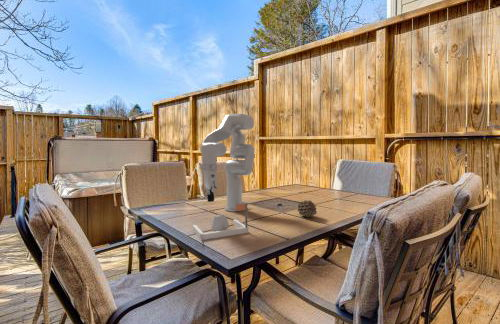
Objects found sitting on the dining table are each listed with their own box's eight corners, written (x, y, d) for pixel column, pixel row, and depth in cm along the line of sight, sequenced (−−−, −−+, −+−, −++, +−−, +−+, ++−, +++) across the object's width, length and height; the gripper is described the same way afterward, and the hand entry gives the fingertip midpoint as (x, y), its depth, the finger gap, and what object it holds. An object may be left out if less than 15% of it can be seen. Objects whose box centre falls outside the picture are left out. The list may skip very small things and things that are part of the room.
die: (233, 233, 135) (230, 213, 140) (224, 228, 127) (221, 208, 132) (217, 238, 137) (215, 218, 142) (208, 234, 129) (206, 214, 134)
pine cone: (322, 219, 155) (322, 201, 155) (308, 221, 151) (308, 203, 150) (298, 210, 175) (298, 194, 174) (285, 212, 171) (285, 196, 170)
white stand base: (235, 224, 147) (235, 197, 146) (248, 232, 133) (248, 203, 132) (192, 230, 137) (191, 202, 136) (201, 240, 123) (200, 208, 122)
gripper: (221, 168, 142) (222, 203, 144) (211, 165, 156) (213, 197, 158) (206, 169, 139) (208, 205, 141) (198, 166, 152) (200, 199, 155)
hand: (210, 201), depth 150 cm, fingers closed
